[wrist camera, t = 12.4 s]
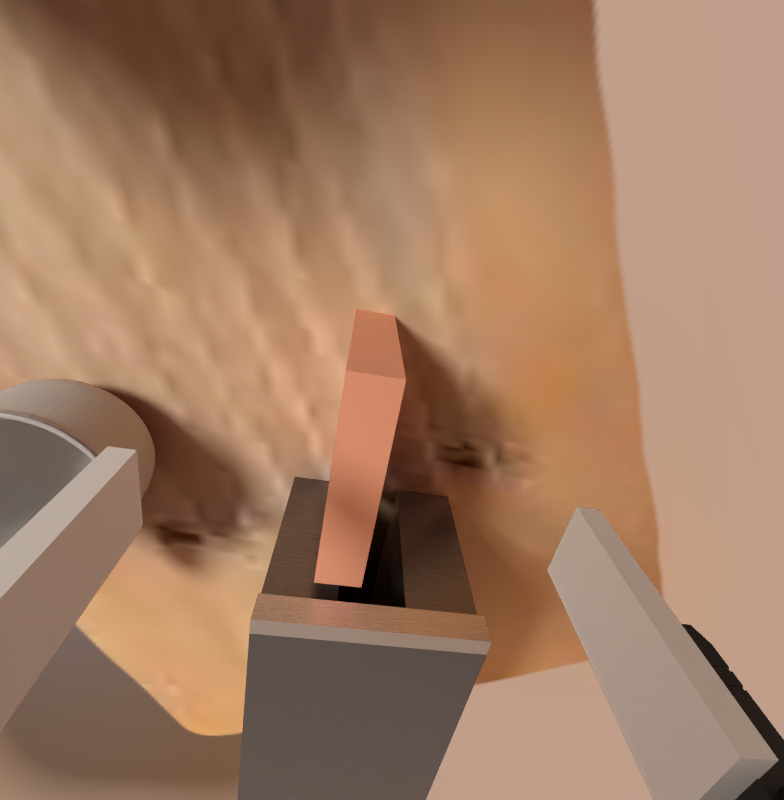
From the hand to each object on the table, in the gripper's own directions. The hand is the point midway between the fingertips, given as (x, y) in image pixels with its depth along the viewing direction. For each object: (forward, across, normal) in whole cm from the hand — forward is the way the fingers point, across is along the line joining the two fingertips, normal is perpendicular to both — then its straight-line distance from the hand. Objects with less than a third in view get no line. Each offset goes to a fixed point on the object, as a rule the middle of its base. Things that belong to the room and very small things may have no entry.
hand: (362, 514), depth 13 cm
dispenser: (+17, +2, -20) cm, 26 cm away
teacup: (+17, -18, -12) cm, 27 cm away
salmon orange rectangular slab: (+17, 0, -4) cm, 17 cm away
